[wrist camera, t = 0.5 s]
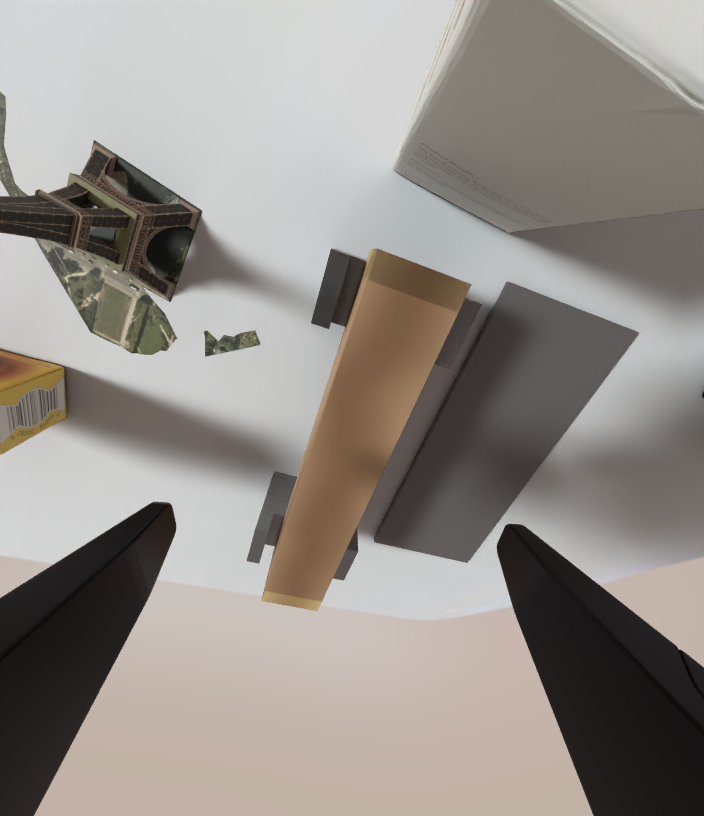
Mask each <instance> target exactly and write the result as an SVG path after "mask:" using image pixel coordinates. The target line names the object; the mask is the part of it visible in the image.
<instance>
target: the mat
mask: <svg viewBox="0 0 704 816" xmlns="http://www.w3.org/2000/svg"><path fill="white" fill-rule="evenodd" d="M638 333H639V332H636V331H634V330H631V329H629V328H626V327H623V326H621V325H618V324H616V323H613V322H611V321H608V320H605V319H603V318H600V317H598V316H595V315H593V314H590V313H587V312H585V311H582V310H580V309H577V308H575V307H572V306H570V305H567V304H564V303H562V302H559V301H557V300H554V299H552V298H549V297H546V296H544V295H541V294H539V293H536V292H534V291H531V290H528V289H526V288H523V287H521V286H518V285H516V284H513V283H511V282H507V283H506V284H505V286H504V288H503V290H502V292H501V294H500V296H499V298H498V300H497V302H496V304H495V306H494V308H493V310H492V311H491V313H490V315H489V317H488V319H487V321H486V323H485V325H484V327H483V329H482V331H481V333H480V335H479V337H478V338H477V340H476V342H475V344H474V346H473V348H472V350H471V352H470V354H469V356H468V358H467V360H466V362H465V364H464V365H463V367H462V369H461V371H460V373H459V375H458V377H457V379H456V381H455V383H454V385H453V387H452V389H451V391H450V392H449V394H448V396H447V398H446V400H445V402H444V404H443V406H442V408H441V410H440V412H439V414H438V416H437V418H436V419H435V421H434V423H433V425H432V427H431V429H430V431H429V433H428V435H427V437H426V439H425V441H424V443H423V445H422V447H421V448H420V450H419V452H418V454H417V456H416V458H415V460H414V462H413V464H412V466H411V468H410V470H409V472H408V474H407V475H406V477H405V479H404V481H403V483H402V485H401V487H400V489H399V491H398V493H397V495H396V497H395V499H394V501H393V502H392V504H391V506H390V508H389V510H388V512H387V514H386V516H385V518H384V520H383V522H382V524H381V526H380V528H379V529H378V531H377V533H376V535H375V537H374V542H376V543H381V544H385V545H390V546H394V547H399V548H403V549H408V550H412V551H417V552H421V553H426V554H430V555H435V556H439V557H444V558H448V559H453V560H457V561H462V562H466V563H467V562H468V561H469V560H470V558H471V557H472V556H473V554H474V553H475V552H476V550H477V549H478V548H479V546H480V545H481V544H482V542H483V541H484V540H485V538H486V537H487V536H488V534H489V533H490V531H491V530H492V529H493V527H494V526H495V525H496V523H497V522H498V521H499V519H500V518H501V517H502V515H503V514H504V513H505V511H506V510H507V509H508V507H509V506H510V505H511V503H512V502H513V501H514V499H515V498H516V497H517V495H518V494H519V493H520V491H521V490H522V489H523V487H524V486H525V485H526V483H527V482H528V481H529V479H530V478H531V477H532V475H533V474H534V473H535V471H536V470H537V469H538V467H539V466H540V465H541V463H542V462H543V461H544V459H545V458H546V457H547V455H548V454H549V453H550V451H551V450H552V449H553V447H554V446H555V444H556V443H557V442H558V440H559V439H560V438H561V436H562V435H563V434H564V432H565V431H566V430H567V428H568V427H569V426H570V424H571V423H572V422H573V420H574V419H575V418H576V416H577V415H578V414H579V412H580V411H581V410H582V408H583V407H584V406H585V404H586V403H587V402H588V400H589V399H590V398H591V396H592V395H593V394H594V392H595V391H596V390H597V388H598V387H599V386H600V384H601V383H602V382H603V380H604V379H605V378H606V376H607V375H608V374H609V372H610V371H611V370H612V368H613V367H614V366H615V364H616V363H617V361H618V360H619V359H620V357H621V356H622V355H623V353H624V352H625V351H626V349H627V348H628V347H629V345H630V344H631V343H632V341H633V340H634V339H635V337H636V336H637V335H638Z"/></svg>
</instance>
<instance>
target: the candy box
mask: <svg viewBox="0 0 704 816" xmlns="http://www.w3.org/2000/svg"><path fill="white" fill-rule="evenodd" d="M66 417H67V410H66V392H65V382H64V367H62V366H59V365H55V364H51V363H48V362H43V361H39V360H35V359H31V358H27V357H24V356H20V355H17V354H13V353H9V352H6V351H2V350H0V455H1V454H3V453H5V452H6V451H8V450H10V449H12V448H14V447H15V446H17V445H19V444H21V443H22V442H24V441H26V440H27V439H29V438H31V437H33V436H35V435H36V434H38V433H40V432H42V431H43V430H45V429H47V428H49V427H51V426H53V425H54V424H56V423H58V422H60V421H61V420H63V419H65V418H66Z"/></svg>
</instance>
